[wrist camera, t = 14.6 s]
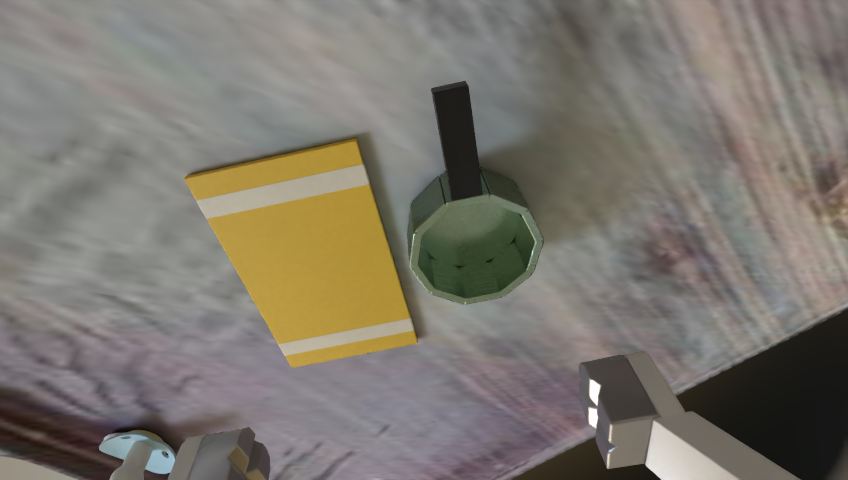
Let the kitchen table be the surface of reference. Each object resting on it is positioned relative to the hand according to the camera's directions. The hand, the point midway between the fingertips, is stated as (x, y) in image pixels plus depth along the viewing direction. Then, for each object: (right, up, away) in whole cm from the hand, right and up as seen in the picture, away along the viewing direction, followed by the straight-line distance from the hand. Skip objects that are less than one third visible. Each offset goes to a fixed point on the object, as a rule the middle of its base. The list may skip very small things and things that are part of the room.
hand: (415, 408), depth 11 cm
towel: (-8, +2, +25) cm, 26 cm away
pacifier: (-29, -17, +36) cm, 50 cm away
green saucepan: (+3, +8, +21) cm, 23 cm away
